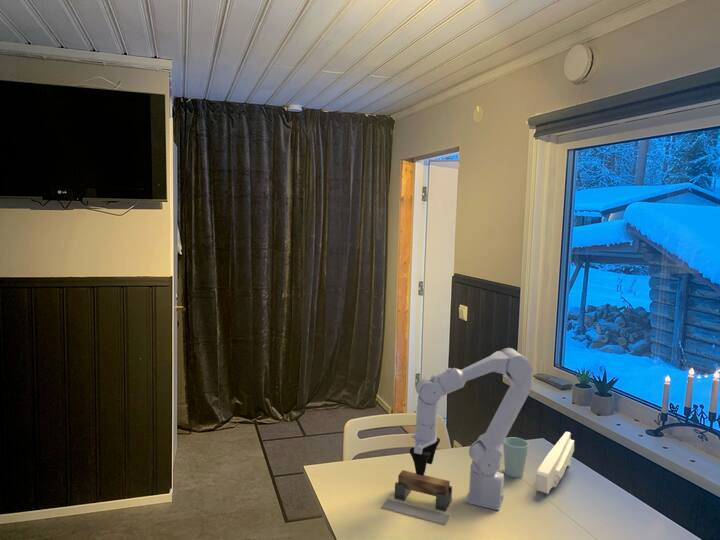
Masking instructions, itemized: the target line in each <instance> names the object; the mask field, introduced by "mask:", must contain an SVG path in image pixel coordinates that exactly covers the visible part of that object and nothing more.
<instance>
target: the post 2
mask: <svg viewBox="0 0 720 540" xmlns="http://www.w3.org/2000/svg"><path fill="white" fill-rule="evenodd" d="M452 497H453V486H452V485H450V486H449V494H448V495H447V494H443V493H439V492H437V493H436V496H435V505H434V506H435V507H434V508H435V510H436V511H440V512H444V513H445V512H447V511H448V509H449V507H450V505H451V503H452V501H453V500H452Z"/></svg>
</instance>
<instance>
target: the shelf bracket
mask: <svg viewBox="0 0 720 540" xmlns="http://www.w3.org/2000/svg"><path fill="white" fill-rule="evenodd" d="M571 435H572V433H571V432H570V431H565V432H564V433H563V435H562V436H561V437H560V438H559V440H558V441H556V444H554V446H553V447H552V448H551V449H550V451H549V452H548V453H547V454H546V457H545V458H543V459H544V460H542V463H541V464H540V466H539V467H538V468H537V469H536V470H537V471H536V472H535V473H536V474H535V485H536V487H535V490H536V491H539V492H541V493H544V494H547V495H549V493H550V492H551V490H552V488H557V486H558V485H559V483H560V481H561V480H562V478H563V476H564V473H565V471H566V469H567V467H571V459H572V456H573V453H574V452H575V440H574V439H571Z"/></svg>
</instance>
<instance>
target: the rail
mask: <svg viewBox="0 0 720 540" xmlns="http://www.w3.org/2000/svg"><path fill="white" fill-rule="evenodd" d="M397 477H398V478H397V482H398V483H402V484H406V489H408V490H411V492H418V493H421V494H426V495H430V496H433V497H436V493H437V492H439V493H443V494H447V495H448V494H449V486H451V485H450V484H451V481H450V480H447V479H443V478H438V477H434V476H430V475H425V474H424V475H423V476H422V475H418V474H416V472H413V471H407V470H404V469H402V470H401V471H400V473H398V476H397Z"/></svg>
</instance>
